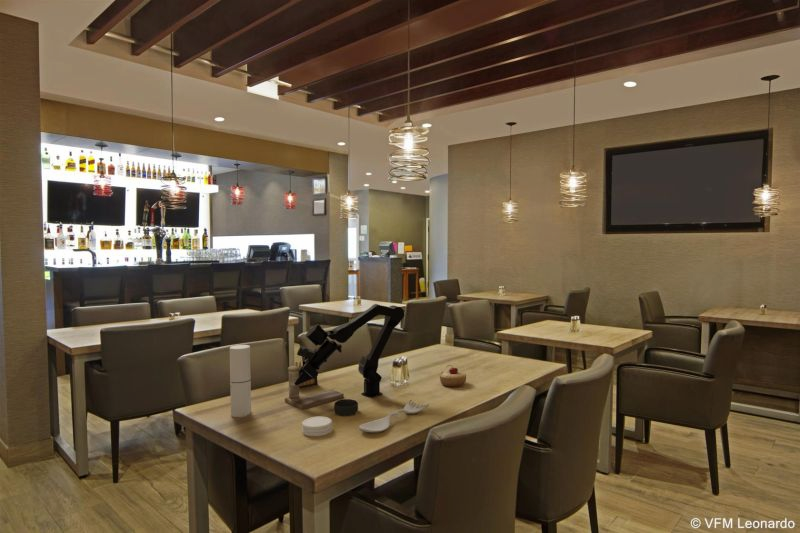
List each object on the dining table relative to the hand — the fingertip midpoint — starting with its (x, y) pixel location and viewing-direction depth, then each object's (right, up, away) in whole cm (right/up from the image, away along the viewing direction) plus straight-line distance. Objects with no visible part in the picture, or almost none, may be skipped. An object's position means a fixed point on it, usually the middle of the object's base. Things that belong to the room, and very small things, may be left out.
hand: (295, 381), depth 189 cm
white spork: (+39, -10, -21) cm, 46 cm away
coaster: (+14, -10, -29) cm, 34 cm away
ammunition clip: (0, -8, +21) cm, 22 cm away
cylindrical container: (-18, -9, -12) cm, 23 cm away
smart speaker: (+21, -9, -12) cm, 26 cm away
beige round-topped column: (-1, -8, 0) cm, 8 cm away
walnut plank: (+9, -8, +1) cm, 12 cm away
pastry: (+65, -7, +24) cm, 70 cm away
